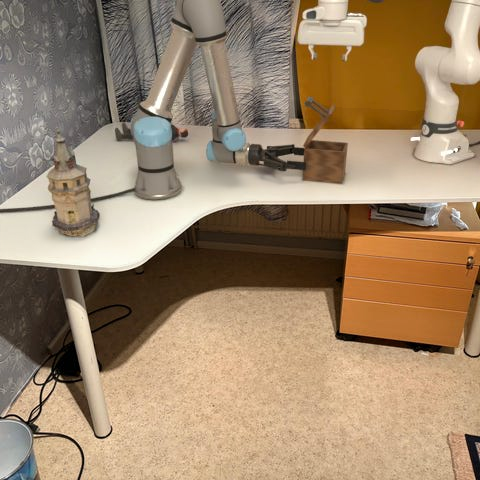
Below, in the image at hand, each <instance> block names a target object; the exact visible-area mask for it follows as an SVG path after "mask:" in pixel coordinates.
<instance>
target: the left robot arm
mask: <svg viewBox="0 0 480 480" xmlns="http://www.w3.org/2000/svg"><path fill="white" fill-rule="evenodd" d="M174 5H175V6H174V8H175V9H174V12H173V14H172V17H171V19H170V25H171V28H172V30H171V34H170V36H169V39H168V42H167V44H166V47H165V50H164V53H163V55H162V57H161V61H160V63H159V66H158V69H157V70H156V74H155V77H154V79H153V82H152V84H151V87H150V90H149V92H148V95H147V98H146V99H145V100H143V101H140V103H139V105H138V109H137V111H136V112H135V113H134V114H133V116H132V118H131V119H130V123H129V129H130V131H131V135H132V137H133V139H132V140H133V142H134V146H135V154H136V160H137V175H136V179H135V184H134V187H133V188H129V189H125V190H122V191H119V192H115V193H111V194H106V195H102V196H96V197H91V203H92V202H96V201H102V200H106V199H110V198H115V197H119V196H122V195H126V194H129V193H132V192H133V193H135V195H136V196H137V197H138V198H141V199H143V200H148V201H161V200H168V199H171V198H174V197H176V196H178V195H179V194H180V193H181V192H182V182H181V180H180V177H179V176H180V175H179V173H178V172H177V171H176V169H175V161H174V160H175V159H174V158H175V157H174V147H173V141H172V129H171V125H170V124H171V123H172V121H173V118H174V115H173V113H172V109H173V106H174V103H175V101H176V98H177V95H178V93H179V90H180V88H181V86H182V84H183V80H184V78H185V75H186V73H187V71H188V68H189V65H190V63H191V61H192V58H193V56H194V52H195V51H196V47H197V46H198V45H199V47H200V52H201V58H202V61H203V67H204V69H205V74H206V79H207V83H208V87H209V91H210V96H211V101H212V105H213V109H212V111H211V131H212V139H211V140H209V141H208V142H207V143H206V148H205V149H206V150H205V155H206V158H207V161H209V162H213V163H218V164H221V163H222V164H234V165H235V164H236V165H240V166H244V165H250V166H256V167H259V166H260V167H265V168H269V169H272V170H275V171H279V172H287V170H293V171H294V170H295V171H303V170H306V162H303V161H298V160H286V161H285V160H283V159H281V158H279V157H283V156H287V155H288V156H289V155H293V156H299V157H301V156H303V157H304V148H305V147H297V146H296V145H295V144H281V145H267V146H266V148H265V149H264V148H263V146H262V144H259V143H251V144H250V143H249V142H247V136H246V135H245V131H244V130H243V128H242V123H241V119H240V113H239V112H240V111H239V108H238V103H237V97H236V93H235V88H234V81H233V78H232V72H231V66H230V60H229V57H228V51H227V46H226V38H227V37H228V33H227V28H226V22H225V15H224V10H223V6H222V2H221V0H175V3H174ZM48 209H55V205H54V204H48V205H37V206H27V207H11V208H0V213H11V212H26V211H27V212H28V211H39V210H48Z"/></svg>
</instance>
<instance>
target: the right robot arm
mask: <svg viewBox="0 0 480 480" xmlns="http://www.w3.org/2000/svg"><path fill="white" fill-rule="evenodd" d="M366 1H368V2H370V3H374V4H380V3H384V2H385V1H386V0H366ZM348 7H349V0H318V1H317V6H313V7H310V8H307V9H305V10H304V11H302V20H301V21H300V23H299V26H298V32H297V43H298V44H299V45H308V50H309V52H310V54H311V60H312V61H316V60H317V59H318V52H315V51H314V47H315V46H343V47H344V46H345V47H346V50H347V51H346V53H342V55H341V61H342V62H347V61H348V55H349V54H350V52H351V51H352V48H353V47H361V46H362V45H363V44H365V29H366V27H367V24H368V17H367V15H365V14H364V13H362V12H348V9H349V8H348ZM444 30H445V32H446V33H447V34H448V35H449V36H450V39H451V46H450V47H448V46H447V47H446V46H440V45H430V46H424V47H423V48H421V49H420V50H419V51H418V53H417V55H416V56H415V59H414V68H415V70H416V72H417V74H418V75H419V77H420V78H421V80H422V82H423V85H424V90H425V106H424V107H425V108H424V113H423V114H424V115H423V117H422V120H421V125H420V133H419V136H417V137H411V138H410V141H417V145H416V146H415V150H414V152H413V156H414V157H415V158H416V159H418V160H420V161H424V162H428V163H434V164H435V163H436V164H442V165H443V164H444V165H453V164H456V163H459V162H462V161H465V160H468V159H472V158H474V157H475V153H474V152H473V151H472V150H471V149H470V147H473V146H477V145H479V144H480V140H478V141H477V142H475V143H470V141H469V138H468V137H467V134H464V133H462V132H461V131H459V127H460V128H463V127H464V126H465V121H464V120H463V121H462V120H461V119H460V120H457V115H458V110H459V104H460V99H459V96H458V95H457V94H456V92H455V91H454V90H453V88H452V86H451V85H452V84H455V85H459V86H460V85H461V86H463V85H464V86H468V85H475V84H477V83H478V82H480V48H479V38H478V37H479V32H480V31H479V30H480V0H451V2H450V5H449V9H448V13H447V15H446V18H445V22H444Z"/></svg>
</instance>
